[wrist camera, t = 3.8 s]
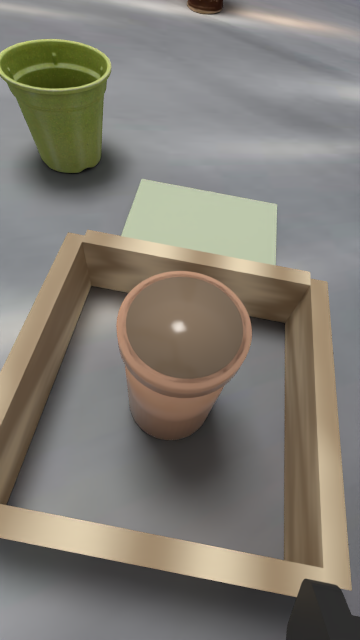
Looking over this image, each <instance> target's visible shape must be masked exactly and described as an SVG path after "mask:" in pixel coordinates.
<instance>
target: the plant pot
mask: <svg viewBox="0 0 360 640" xmlns="http://www.w3.org/2000/svg"><path fill="white" fill-rule="evenodd" d="M110 73H111V63H110V60H109V58H108V57H107V56H106V55H105V54H104V53H102V52H101V51H99V50H98V49H96V48H94V47H91V46H89V45H85V44H82V43H79V42H73V41H67V40H60V39H43V40H33V41H26V42H22V43H18V44H15V45H13V46H11V47H8V48H7V49H5V50H3V51H2V52H1V53H0V76H1V78H2V79H3V80H4V81H6V82H7V84H8V86H9V88H10V91H11V92H12V94H13V95H14V96H15V97H16V99H17V101H18V104H19V106H20V108H21V111H22V113H23V115H24V118H25V120H26V122H27V125H28V127H29V130H30V132H31V134H32V137H33V139H34V141H35V144H36V146H37V149H38V151H39V153H40V156H41V158H42V160H43V161H44V162H45V163H46V164H47V165H48V166H49V167H50V168H51V169H53V170H56V171H59V172H64V173H78V172H81V171H82V170H83V169H85V168H88V167H94V166H95V165H97V163H98V162H99V161H100V158H101V146H102V120H103V100H104V93H105V90H106V83H107V79H108V77H109V76H110Z"/></svg>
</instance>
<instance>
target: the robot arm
mask: <svg viewBox="0 0 360 640" xmlns="http://www.w3.org/2000/svg"><path fill="white" fill-rule="evenodd" d="M286 640H360V617H358V616H353V615H351V612H350V610H349V608H348V605H347V603H346V600H345V598H344V595H343V593H342V591H341V589H340V588H339V587H338V586H337V585H335V584H330V583H325V582H320V581H316V580H311V579H304V580H303V581H302V583H301V586H300V589H299V592H298V595H297V598H296V601H295V604H294V607H293V610H292V613H291V616H290V619H289V622H288V626H287V634H286Z"/></svg>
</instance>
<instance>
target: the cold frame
mask: <svg viewBox="0 0 360 640" xmlns="http://www.w3.org/2000/svg"><path fill="white" fill-rule="evenodd" d="M171 271H189V272H196V273H200V274H203V275H206V276H209V277H211V278H214V279H216V280H218V281H219V282H221V283H223V284H224V285H226V286H227V287H228V288H229V289H231V290H232V291H233V292H234V293H235V294H236V295H237V296H238V298H239V299H240V300H241V302H242V303H243V305H244V306H245V308H246V310H247V312H248V315H249V316H252V317H257V318H262V319H267V320H273V321H278V322H283V323H285V466H284V560H280V559H275V558H269V557H264V556H259V555H254V554H249V553H244V552H239V551H234V550H229V549H224V548H219V547H214V546H209V545H204V544H199V543H194V542H189V541H184V540H179V539H174V538H169V537H164V536H159V535H154V534H149V533H144V532H139V531H134V530H129V529H124V528H119V527H114V526H109V525H104V524H98V523H93V522H88V521H83V520H78V519H73V518H68V517H63V516H58V515H53V514H48V513H43V512H38V511H33V510H28V509H23V508H18V507H13V506H8V505H7V502H8V499H9V497H10V494H11V492H12V489H13V487H14V484H15V481H16V479H17V476H18V474H19V471H20V468H21V466H22V463H23V461H24V458H25V456H26V453H27V450H28V448H29V445H30V443H31V440H32V437H33V435H34V432H35V430H36V427H37V425H38V422H39V419H40V417H41V414H42V412H43V409H44V406H45V404H46V401H47V399H48V396H49V394H50V391H51V388H52V386H53V383H54V381H55V378H56V375H57V373H58V370H59V368H60V365H61V363H62V360H63V357H64V355H65V352H66V350H67V347H68V344H69V342H70V339H71V337H72V334H73V332H74V329H75V326H76V324H77V321H78V319H79V316H80V313H81V311H82V308H83V306H84V303H85V301H86V298H87V295H88V293H89V290H90V288H91V286H95V287H100V288H106V289H111V290H116V291H121V292H127V293H129V292H130V291H131V290H132V289H133V288H134V287H135V286H137V285H138V284H139V283H141V282H142V281H144V280H146V279H148V278H150V277H152V276H154V275H157V274H161V273H165V272H171ZM0 538H4V539H9V540H14V541H19V542H24V543H29V544H34V545H39V546H44V547H49V548H54V549H59V550H64V551H69V552H74V553H79V554H84V555H89V556H94V557H99V558H104V559H109V560H114V561H119V562H124V563H129V564H134V565H139V566H144V567H149V568H154V569H159V570H164V571H169V572H174V573H179V574H184V575H189V576H194V577H199V578H204V579H209V580H214V581H219V582H224V583H229V584H234V585H239V586H244V587H249V588H254V589H259V590H264V591H269V592H274V593H279V594H284V595H289V596H294V597H297V595H298V592H299V589H300V586H301V583H302V581H303V580H304V579H311V580H316V581H320V582H325V583H330V584H335V585H337V586H338V587H339V588H341V589H346V590H351V591H352V588H351V575H350V562H349V550H348V537H347V524H346V512H345V499H344V486H343V474H342V461H341V448H340V436H339V423H338V410H337V397H336V385H335V372H334V359H333V347H332V334H331V321H330V309H329V296H328V283H327V282H326V281H321V280H315V279H310V272H307V271H302V270H297V269H292V268H286V267H281V266H276V265H270V264H265V263H260V262H255V261H249V260H244V259H239V258H234V257H228V256H223V255H218V254H213V253H207V252H202V251H197V250H192V249H186V248H181V247H176V246H170V245H165V244H160V243H155V242H149V241H144V240H139V239H134V238H128V237H123V236H118V235H113V234H107V233H102V232H97V231H92V230H87V232H86V234H85V236H84V235H79V234H73V233H68V234H67V236H66V238H65V240H64V242H63V244H62V246H61V248H60V250H59V252H58V254H57V256H56V258H55V260H54V263H53V265H52V267H51V269H50V271H49V273H48V275H47V277H46V279H45V281H44V283H43V285H42V287H41V289H40V291H39V294H38V296H37V298H36V300H35V302H34V304H33V306H32V308H31V310H30V312H29V314H28V316H27V318H26V320H25V322H24V325H23V327H22V329H21V331H20V333H19V335H18V337H17V339H16V341H15V343H14V345H13V347H12V349H11V351H10V353H9V356H8V358H7V360H6V362H5V364H4V366H3V368H2V370H1V372H0Z"/></svg>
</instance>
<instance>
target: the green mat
mask: <svg viewBox="0 0 360 640" xmlns="http://www.w3.org/2000/svg"><path fill="white" fill-rule="evenodd" d="M276 226H277V204H273V203H267V202H262V201H257V200H251V199H246V198H241V197H235V196H230V195H225V194H219V193H214V192H209V191H203V190H198V189H193V188H187V187H182V186H177V185H172V184H166V183H161V182H156V181H150V180H145V179H142V180H141V183H140V185H139V188H138V191H137V194H136V196H135V199H134V202H133V205H132V207H131V210H130V213H129V216H128V218H127V221H126V224H125V227H124V229H123V232H122V235H121V236H123V237H128V238H134V239H139V240H144V241H149V242H155V243H160V244H165V245H170V246H176V247H181V248H186V249H192V250H197V251H202V252H207V253H213V254H218V255H223V256H228V257H234V258H239V259H244V260H249V261H255V262H260V263H265V264H270V265H276Z"/></svg>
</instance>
